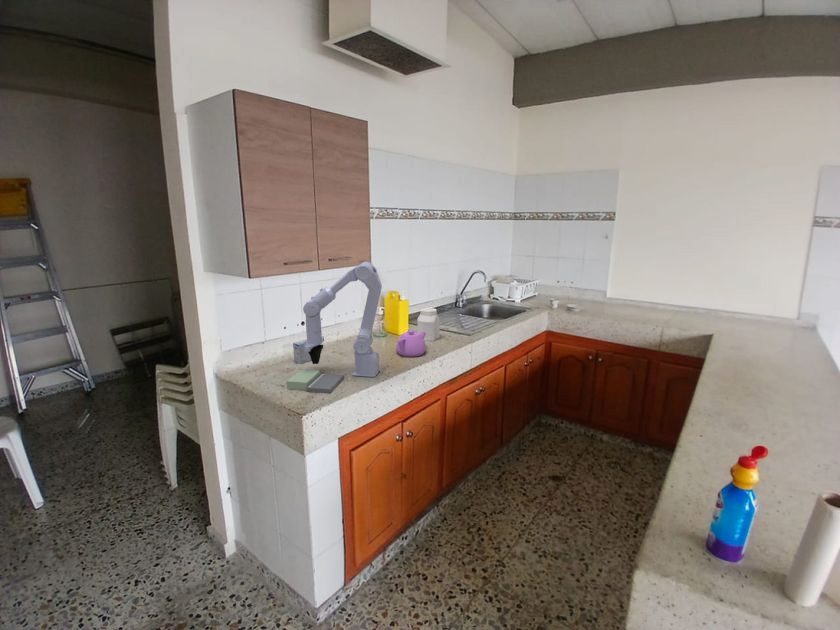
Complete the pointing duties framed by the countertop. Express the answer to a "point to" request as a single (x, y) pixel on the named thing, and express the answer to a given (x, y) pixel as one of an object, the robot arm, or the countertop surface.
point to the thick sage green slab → (302, 379)
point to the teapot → (411, 344)
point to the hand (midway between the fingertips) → (315, 363)
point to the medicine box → (300, 352)
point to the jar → (429, 324)
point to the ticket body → (325, 383)
